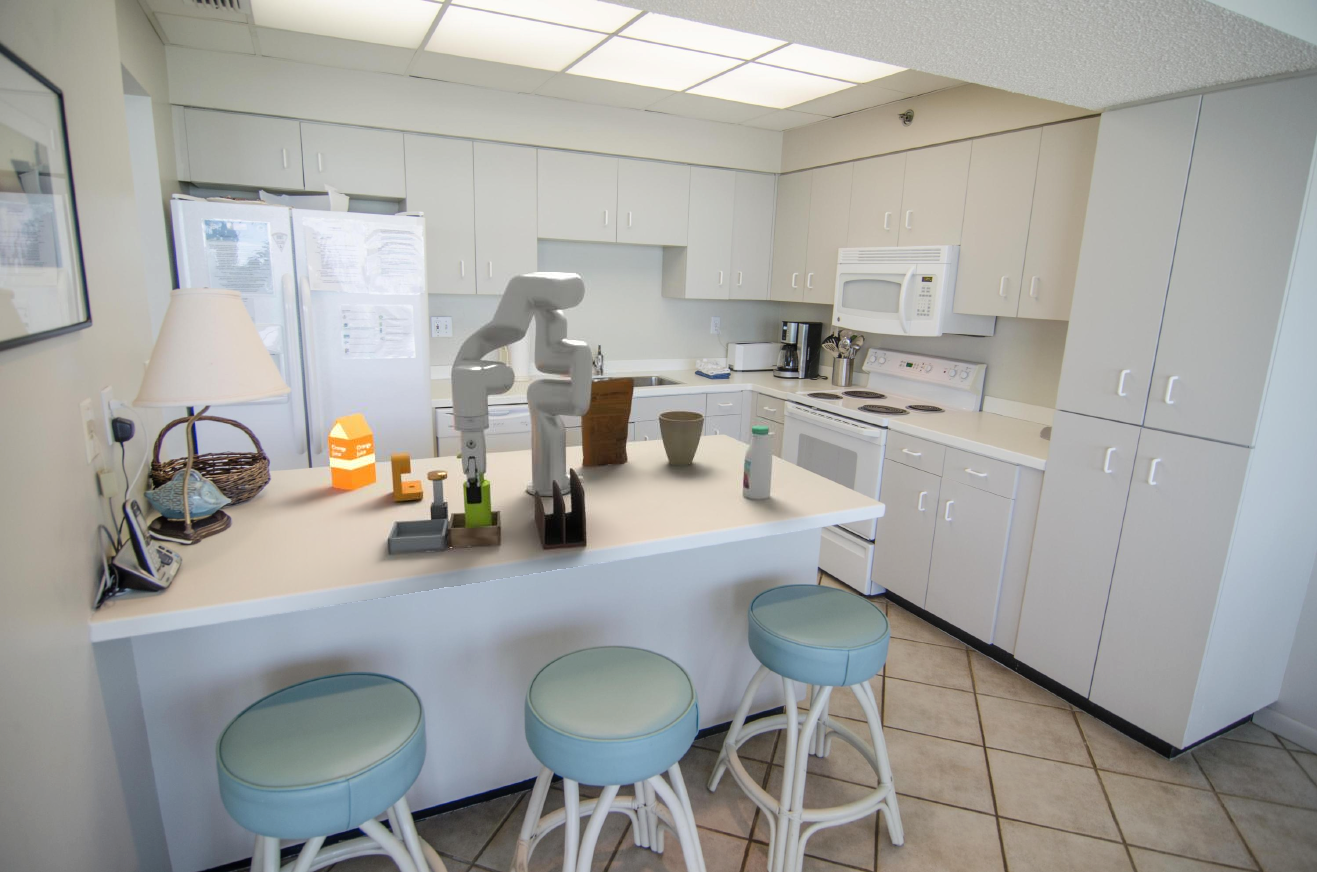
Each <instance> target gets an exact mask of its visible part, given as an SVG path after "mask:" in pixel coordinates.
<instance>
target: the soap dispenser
mask: <svg viewBox="0 0 1317 872" xmlns="http://www.w3.org/2000/svg"><path fill="white" fill-rule="evenodd" d="M456 459H457V460H458V459H462V458H461V453H460V454H457V455H456ZM468 473H469V470H468ZM475 473H478V471H477V470H475ZM479 473H480V472H479ZM475 478H477V476H475ZM466 486H467V480H466V481H464V482H463V483H462V487H463V488H462V489H463V504H464V507H463V508H464V513H465V526H466V527H482V526H492V518H491V511H492V500H491V498H492V497H491V482H490V480H488V479H485V474H483V473H480V486H481V495H482V503H480V504H467V495H466Z"/></svg>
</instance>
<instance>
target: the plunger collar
mask: <svg viewBox="0 0 1317 872" xmlns="http://www.w3.org/2000/svg"><path fill="white" fill-rule="evenodd" d="M448 503H449V502H448V501H444V506H438V507H434V501H433V502H431V504H430V507H429V508H430V520H434V519H448V527H449V522H450V519H449V504H448Z"/></svg>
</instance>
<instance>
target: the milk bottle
mask: <svg viewBox="0 0 1317 872" xmlns="http://www.w3.org/2000/svg"><path fill="white" fill-rule="evenodd" d="M769 433H770V430H769V427H768V426H765V425H753V426H752V428H751V435H752V437H751V440H750V442H749V445H748V446H747V449H746V451H745V456H744V461H743V463H744V465H743V477H742V478H743V479H742V480H743V481H742V496H743V497H745V498H747V499H749V500H750V499H751V500H756V501H757V500H758V501H760V500H767V499H769V498H770V496H771V489H772V486H771V485H772V473H773V472H772V471H773V469H772V468H773V454H772V449H771V447H770V445H769V441H768V437H769Z"/></svg>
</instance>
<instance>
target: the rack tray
mask: <svg viewBox="0 0 1317 872" xmlns="http://www.w3.org/2000/svg"><path fill="white" fill-rule="evenodd" d="M448 520H449V518H448V519H434V520H431V519H418V520H417V519H415V520H399V521H394V523H393V525H392V528H391V529H390V533H389V535H388V538H387V551H388V555H401V554H402V553H403V554H416V553H415V552H419V553H427V552H426V551H435V552H445V551H446V549H447V548H446V547H447V544H446V543H447V542H448V539H447V538H448Z"/></svg>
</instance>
